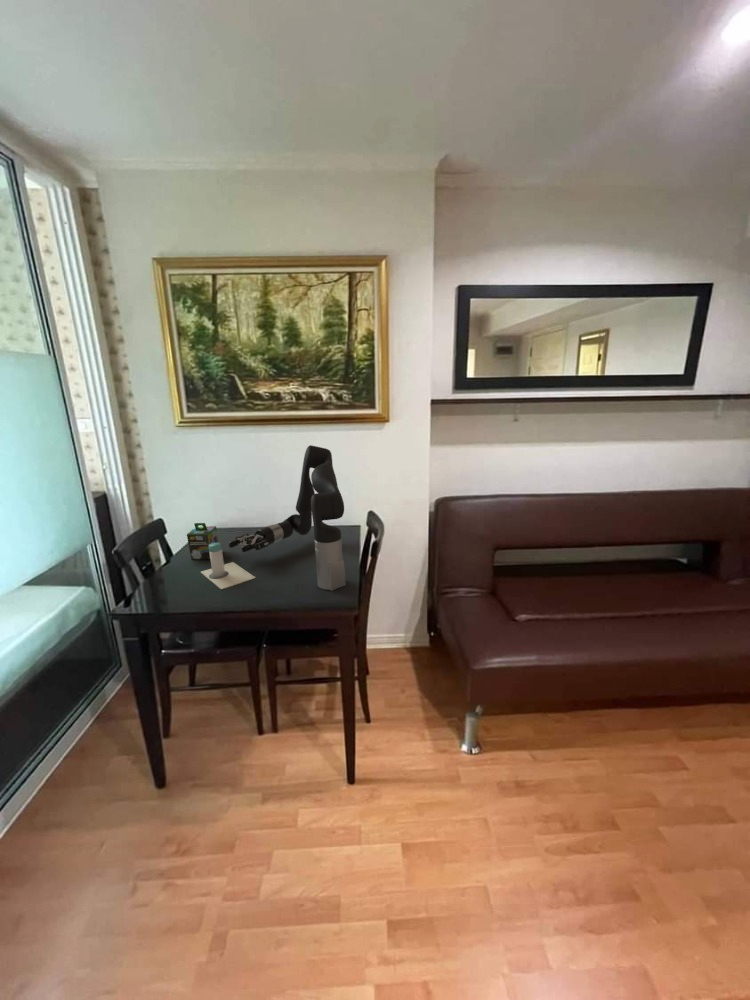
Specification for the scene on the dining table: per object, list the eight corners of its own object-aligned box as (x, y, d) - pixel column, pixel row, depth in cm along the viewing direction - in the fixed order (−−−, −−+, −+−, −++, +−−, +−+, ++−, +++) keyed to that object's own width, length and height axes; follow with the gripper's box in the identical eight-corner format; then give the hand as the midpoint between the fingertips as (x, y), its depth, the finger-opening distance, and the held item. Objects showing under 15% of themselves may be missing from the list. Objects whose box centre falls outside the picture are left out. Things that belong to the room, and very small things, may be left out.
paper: (255, 578, 162) (255, 577, 162) (221, 589, 154) (221, 588, 154) (232, 562, 177) (232, 561, 176) (200, 572, 168) (200, 571, 168)
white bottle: (227, 574, 165) (222, 544, 162) (215, 578, 162) (211, 547, 159) (222, 571, 168) (218, 541, 165) (211, 574, 165) (206, 544, 162)
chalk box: (220, 551, 189) (216, 518, 185) (211, 559, 180) (206, 525, 176) (200, 551, 190) (195, 518, 186) (190, 559, 181) (184, 525, 177)
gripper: (258, 523, 185) (224, 534, 172) (279, 529, 176) (245, 542, 164) (259, 540, 187) (226, 552, 174) (281, 547, 178) (248, 560, 166)
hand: (235, 547), depth 169 cm, fingers open, 8 cm apart
